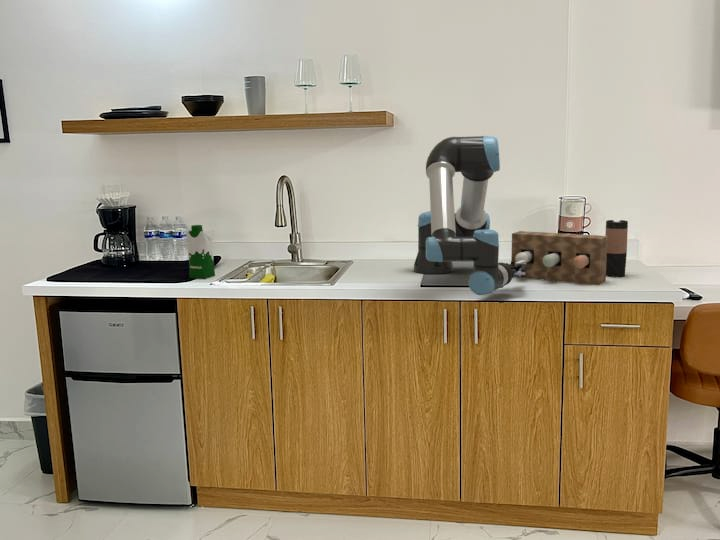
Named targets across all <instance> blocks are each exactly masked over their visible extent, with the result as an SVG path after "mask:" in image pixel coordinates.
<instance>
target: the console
mask: <svg viewBox="0 0 720 540" xmlns="http://www.w3.org/2000/svg"><path fill="white" fill-rule="evenodd" d="M607 237H608V236H605V235H599V234H598V235H597V234H596V235H595V234H594V235H593V234H581V233H579V234H578V233H559V232H544V231H543V232H542V231H541V232H540V231H526V230H525V231H524V230H519V231H516V232H513V233H511V261H514V264H515V263H516V260H515V257H516V255H517V254H518V253H521V252H525V251H531V252H532V253H533V255H534V257H533V260H532V261H530V262H527V263H526V273H525V277H521V276H519V275H517V277H516V278H521V279H531V280H540V279H544V280H543V281H551V280H555V281H554V282H562V281H563V283H564V282H565V283H573V284H574V283H575V284H583V285H584V284H587V285H596V286H597V285H598V286H601V285H602V284H604V282H606V279H607V276H606V261H607ZM552 253H558V254H559V255H560V256H561V260H560V262H559V263H557V264H555V265H554V266H552V267H546V266H545V265H544V264H543V258H544V256H546V255H548V254H552ZM582 254H589V255H590V264H588V265H586V266H585V267H583V268H577V267H576V266H575V265H574V259H575V257H577V256H579V255H582ZM511 261H510V262H511Z"/></svg>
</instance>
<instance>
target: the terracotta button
mask: <svg viewBox="0 0 720 540" xmlns="http://www.w3.org/2000/svg"><path fill="white" fill-rule="evenodd" d="M588 264H590V255H589V254H582V255H579V256H577V257H575V259H574V265H575V266H576V267H577V268H583V267H585V266H586V265H588Z"/></svg>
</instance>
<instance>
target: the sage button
mask: <svg viewBox="0 0 720 540" xmlns="http://www.w3.org/2000/svg"><path fill="white" fill-rule="evenodd" d="M560 260H561V256H560V255H559V254H558V253H552V254H548V255H546V256H544V258H543V264H544V265H545V266H546V267H552V266H554V265H555V264H557V263H559V262H560Z"/></svg>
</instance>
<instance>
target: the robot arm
mask: <svg viewBox="0 0 720 540" xmlns="http://www.w3.org/2000/svg"><path fill="white" fill-rule="evenodd" d="M499 149H500V148H499V139H498V138H497V137H495V136H489V135H482V136H481V135H479V136H477V135H475V136H450V137H446V138H444V139H442V140H441V141H439V142H438V143H436V144H435V146H434V147H433V148H432V150H431V151H430V153H429V155H428V157H427V160H426V163H425V175H426V177H427V178H428V180H429V181H428V183H429V203H430V210H429V211H424V212H422V213H420V214H419V215H418V220H417V221H418V222H417V227H418V228H417V230H418V233H417V234H418V235H417V236H418V241H417V242H418V243H417V245H418V247H417V249H418V250H417V254H416V258H415V260H414V264H413V272H416V273H420V274H425V275H427V274H428V275H436V274H437V275H439V274H448V273H452V272H453V271H454V264H453V262H473V273H472V274H471V275H470V276H469V278H468V282H467V283H468V287H469V290H470V291H471V292H472V293H473V294H475V295H477V296H486V295H489V294H492V292H496V291H497V290H498V289H500V288H502V287H504V286H506V285H509V284H510V283H511V281H512V280H513V278H518V277H517V275H519V276H521V277H525V273H526V260H521V261H518V262H516V263H515V264H514V261H510V263H509V262H499V254H500V253H499V251H500V248H499V247H500V244H499V242H500V241H499V232H497V231H496V230H495V229H491V220H490V218H491V217H490V214H489V213H487V212H486V211H485V203H486V198H487V197H486V196H487V192H488V191H487V190H488V184H489V180H490V179H491V178H492V177H493V176H494V173H496V172H499V171H500V170H501V166H500V165H501V164H500V163H501V162H500V160H501V159H500V150H499ZM456 173H461V175H462V177H463V180H462V189H461V190H462V191H461V197H460V198H461V200H460V207H459V208H458V209H457V210H456V212H455V201H454V200H455V199H454V198H455V197H454V183H453V181H454V180H453V177H455V176H456V175H455V174H456Z"/></svg>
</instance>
